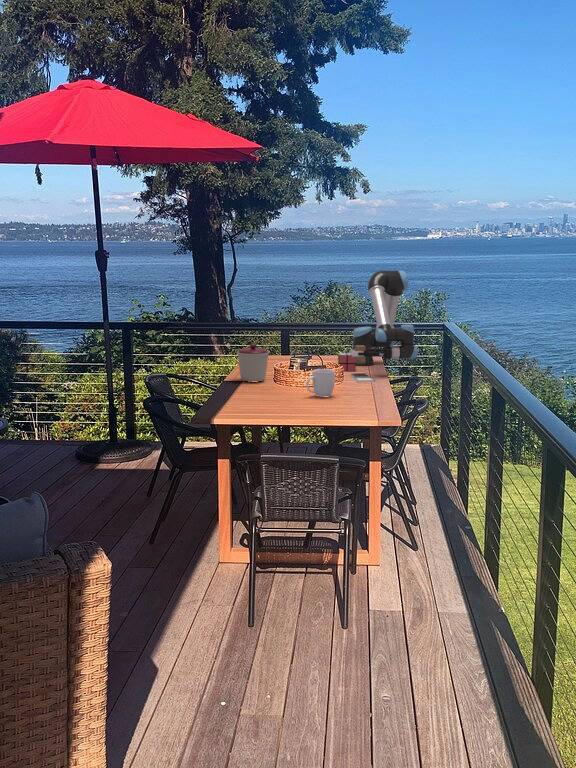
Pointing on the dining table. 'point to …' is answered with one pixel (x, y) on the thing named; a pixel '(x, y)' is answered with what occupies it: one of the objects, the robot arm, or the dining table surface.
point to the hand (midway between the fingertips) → (351, 353)
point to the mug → (322, 382)
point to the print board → (364, 379)
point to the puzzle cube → (347, 361)
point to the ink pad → (358, 375)
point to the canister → (253, 363)
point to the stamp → (360, 358)
